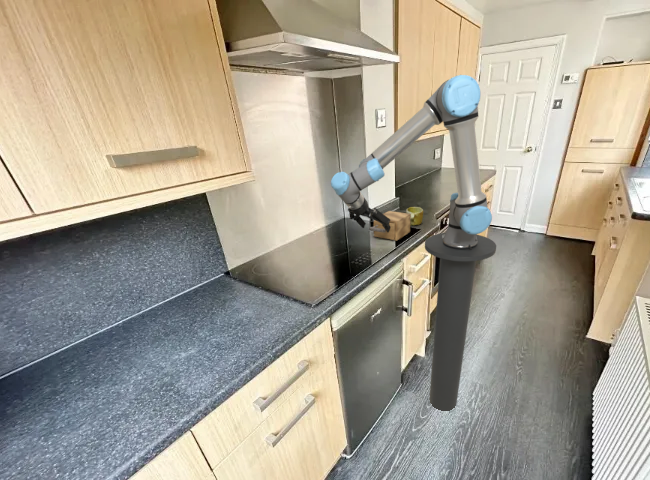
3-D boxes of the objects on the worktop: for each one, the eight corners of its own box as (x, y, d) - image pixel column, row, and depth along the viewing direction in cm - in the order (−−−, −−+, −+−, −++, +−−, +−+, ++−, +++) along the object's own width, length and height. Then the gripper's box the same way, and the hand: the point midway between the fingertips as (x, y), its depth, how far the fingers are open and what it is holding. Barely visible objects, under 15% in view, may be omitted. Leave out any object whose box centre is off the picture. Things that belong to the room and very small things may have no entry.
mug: (407, 216, 183) (411, 201, 176) (423, 223, 180) (428, 208, 173) (398, 226, 175) (402, 210, 168) (414, 233, 172) (419, 218, 165)
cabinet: (396, 240, 154) (396, 221, 149) (374, 236, 160) (374, 218, 155) (410, 232, 164) (410, 213, 160) (389, 228, 171) (388, 210, 166)
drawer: (387, 244, 148) (387, 227, 144) (367, 240, 153) (366, 224, 150) (406, 231, 162) (407, 216, 158) (387, 228, 168) (387, 214, 164)
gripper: (329, 207, 134) (351, 230, 153) (379, 214, 122) (397, 239, 140) (335, 191, 136) (357, 217, 154) (386, 197, 124) (403, 224, 142)
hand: (376, 227), depth 147 cm, fingers open, 13 cm apart
